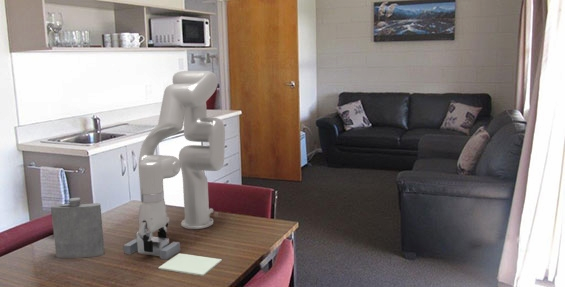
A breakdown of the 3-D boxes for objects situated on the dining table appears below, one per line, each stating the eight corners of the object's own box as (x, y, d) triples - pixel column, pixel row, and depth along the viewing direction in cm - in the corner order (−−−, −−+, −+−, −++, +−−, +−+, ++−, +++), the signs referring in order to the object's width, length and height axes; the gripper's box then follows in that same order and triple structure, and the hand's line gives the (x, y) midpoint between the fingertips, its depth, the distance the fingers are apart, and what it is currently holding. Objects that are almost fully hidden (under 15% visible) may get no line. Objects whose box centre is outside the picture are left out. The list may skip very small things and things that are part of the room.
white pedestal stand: (145, 249, 175) (143, 228, 174) (169, 252, 172) (168, 231, 170) (137, 253, 171) (136, 232, 170) (162, 256, 168) (161, 235, 167)
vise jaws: (138, 245, 178) (138, 237, 178) (180, 250, 172) (179, 242, 172) (124, 253, 171) (123, 245, 170) (167, 259, 165) (166, 251, 164)
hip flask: (105, 252, 173) (100, 195, 169) (102, 256, 169) (97, 199, 165) (58, 253, 172) (52, 197, 168) (53, 258, 168) (47, 200, 164)
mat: (179, 254, 169) (179, 253, 169) (221, 260, 163) (221, 259, 163) (158, 269, 158) (158, 267, 158) (203, 276, 152) (203, 274, 152)
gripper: (158, 189, 177) (161, 237, 180) (126, 203, 161) (130, 255, 164) (176, 191, 174) (179, 239, 177) (146, 205, 158) (149, 258, 161)
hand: (155, 246), depth 171 cm, fingers open, 7 cm apart
